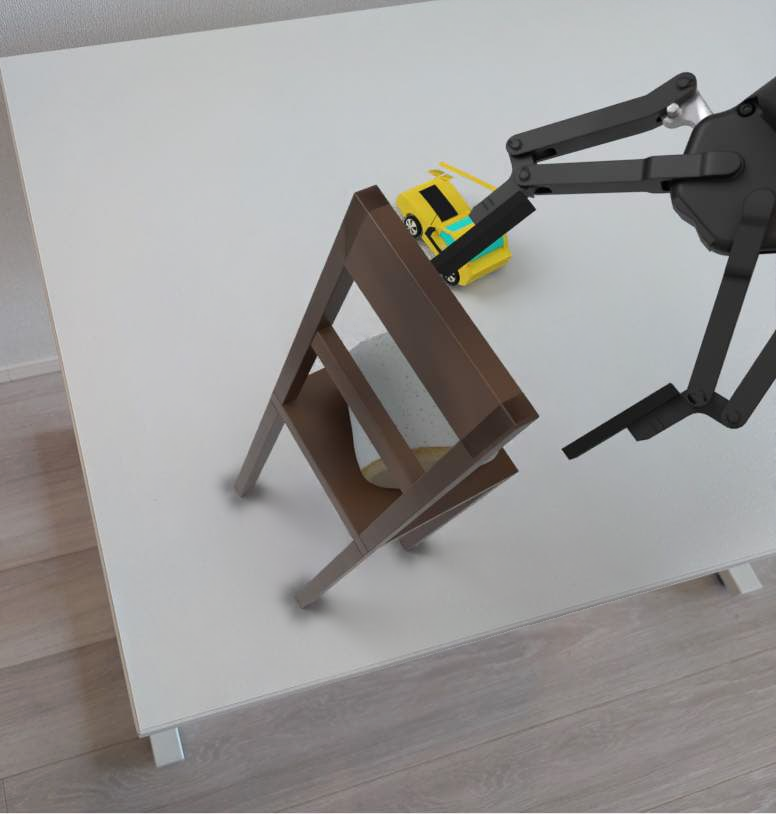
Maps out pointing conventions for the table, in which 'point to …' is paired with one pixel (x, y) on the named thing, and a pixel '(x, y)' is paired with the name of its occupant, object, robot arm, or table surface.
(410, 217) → the toy car
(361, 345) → the ceramic mug
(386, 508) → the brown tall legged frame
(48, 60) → the table surface
